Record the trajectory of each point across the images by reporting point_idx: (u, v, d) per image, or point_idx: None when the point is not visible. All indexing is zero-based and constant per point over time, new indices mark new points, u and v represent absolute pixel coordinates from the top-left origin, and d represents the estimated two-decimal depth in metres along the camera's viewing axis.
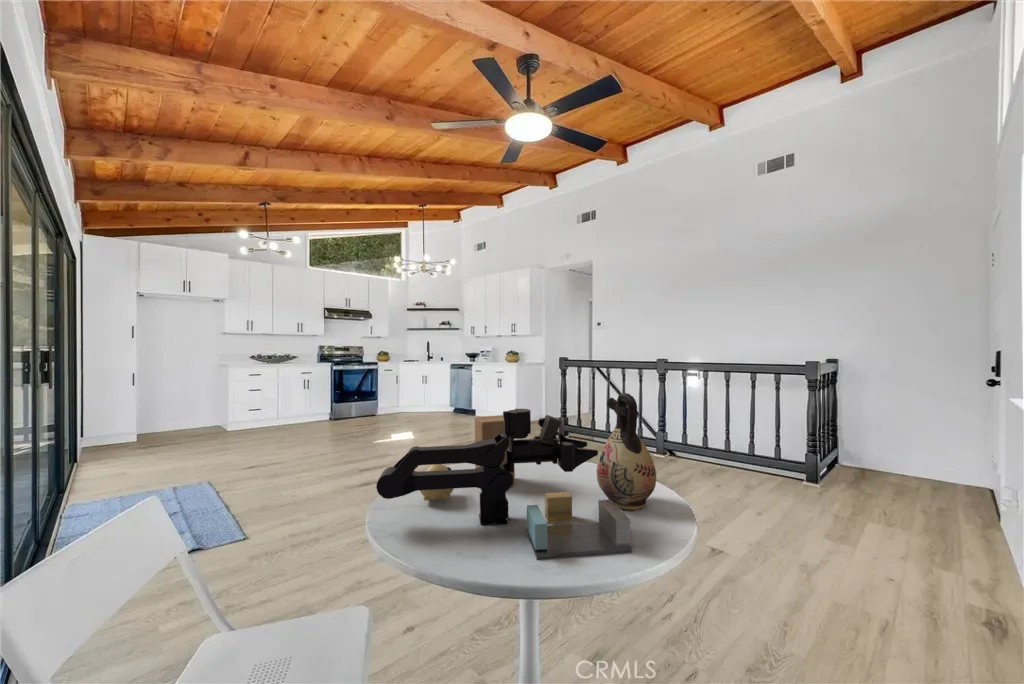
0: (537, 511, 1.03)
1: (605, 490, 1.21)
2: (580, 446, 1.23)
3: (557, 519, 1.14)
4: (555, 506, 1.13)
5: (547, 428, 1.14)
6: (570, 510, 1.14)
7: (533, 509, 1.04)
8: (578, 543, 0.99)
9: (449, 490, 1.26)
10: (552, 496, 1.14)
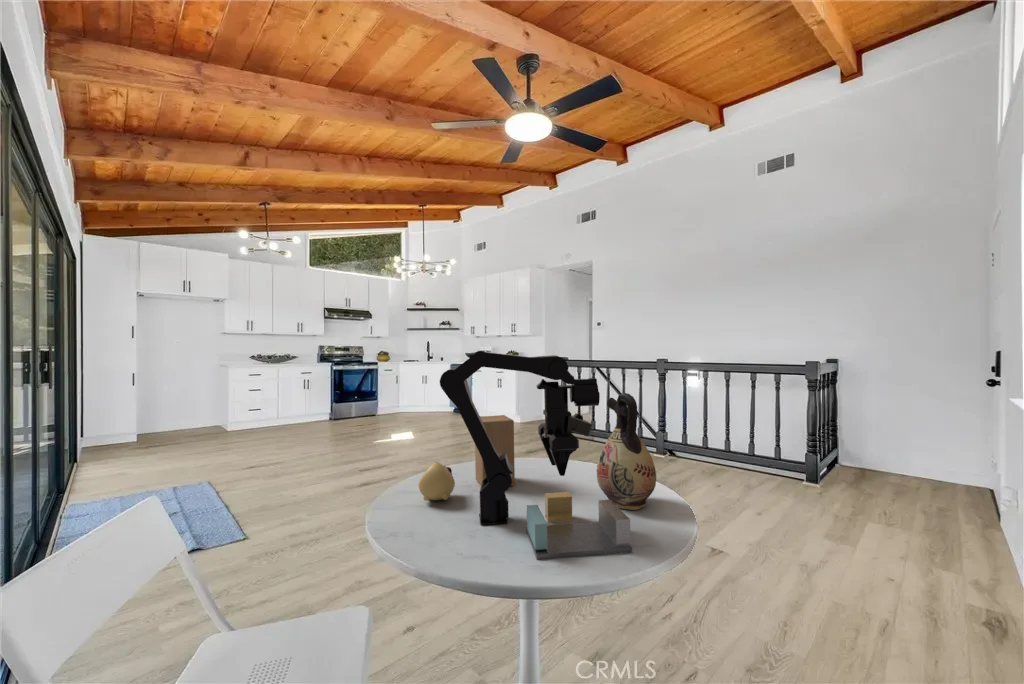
0: (537, 511, 1.03)
1: (605, 490, 1.21)
2: (551, 458, 1.20)
3: (557, 519, 1.14)
4: (555, 506, 1.13)
5: (582, 422, 1.13)
6: (570, 510, 1.14)
7: (533, 509, 1.04)
8: (578, 543, 0.99)
9: (449, 490, 1.26)
10: (552, 496, 1.14)
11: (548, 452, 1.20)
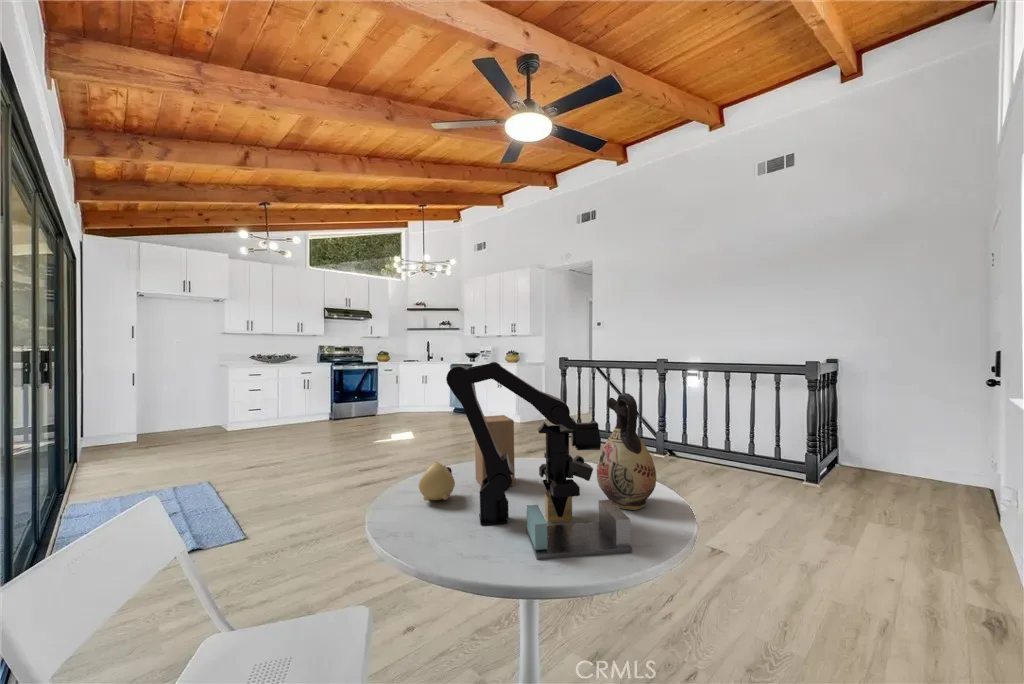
0: (537, 511, 1.03)
1: (605, 490, 1.21)
2: None
3: (557, 519, 1.14)
4: None
5: (583, 467, 1.14)
6: (570, 510, 1.14)
7: (533, 509, 1.04)
8: (578, 543, 0.99)
9: (449, 490, 1.26)
10: None
11: None
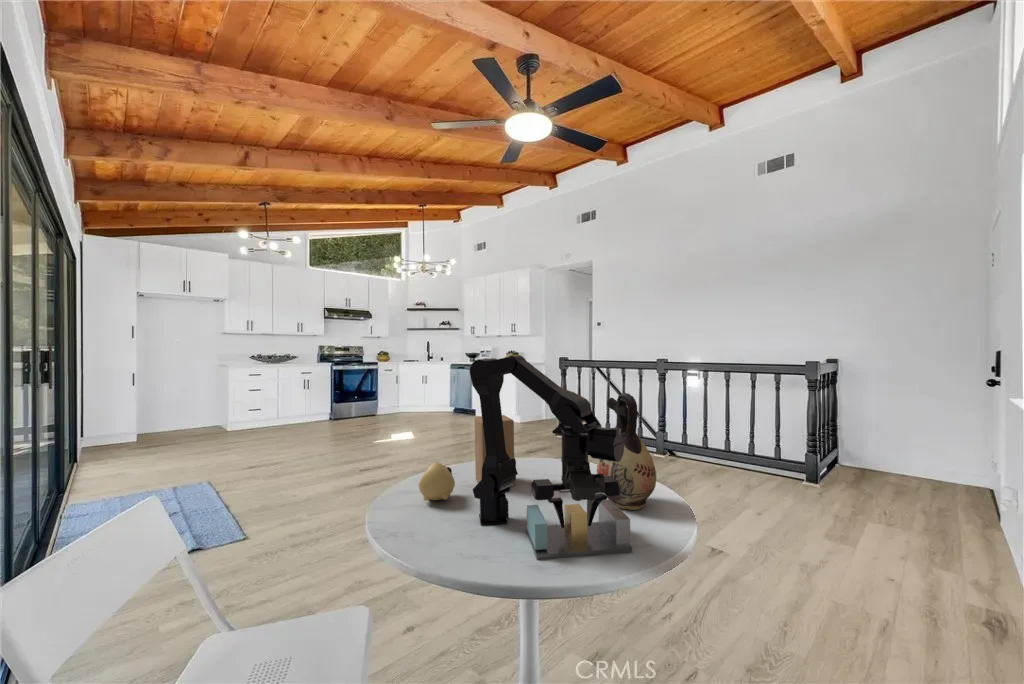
0: (537, 511, 1.03)
1: None
2: (587, 516, 1.03)
3: (567, 533, 1.03)
4: (566, 517, 1.03)
5: (571, 481, 0.96)
6: (570, 530, 1.00)
7: (533, 509, 1.04)
8: (578, 543, 0.99)
9: (449, 490, 1.26)
10: (569, 506, 1.04)
11: (587, 508, 1.04)
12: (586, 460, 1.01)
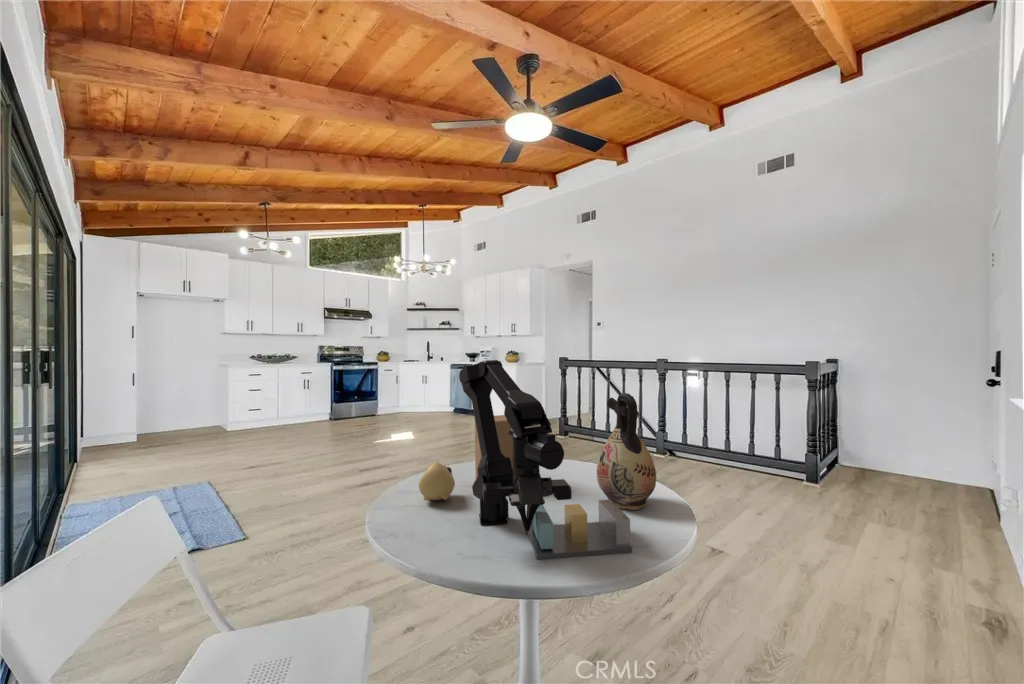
0: (543, 511, 1.03)
1: (605, 490, 1.21)
2: None
3: (567, 533, 1.03)
4: (566, 517, 1.03)
5: (518, 484, 0.95)
6: (570, 530, 1.00)
7: (538, 508, 1.05)
8: (578, 543, 0.99)
9: (449, 490, 1.26)
10: (569, 506, 1.04)
11: None
12: (536, 463, 0.99)
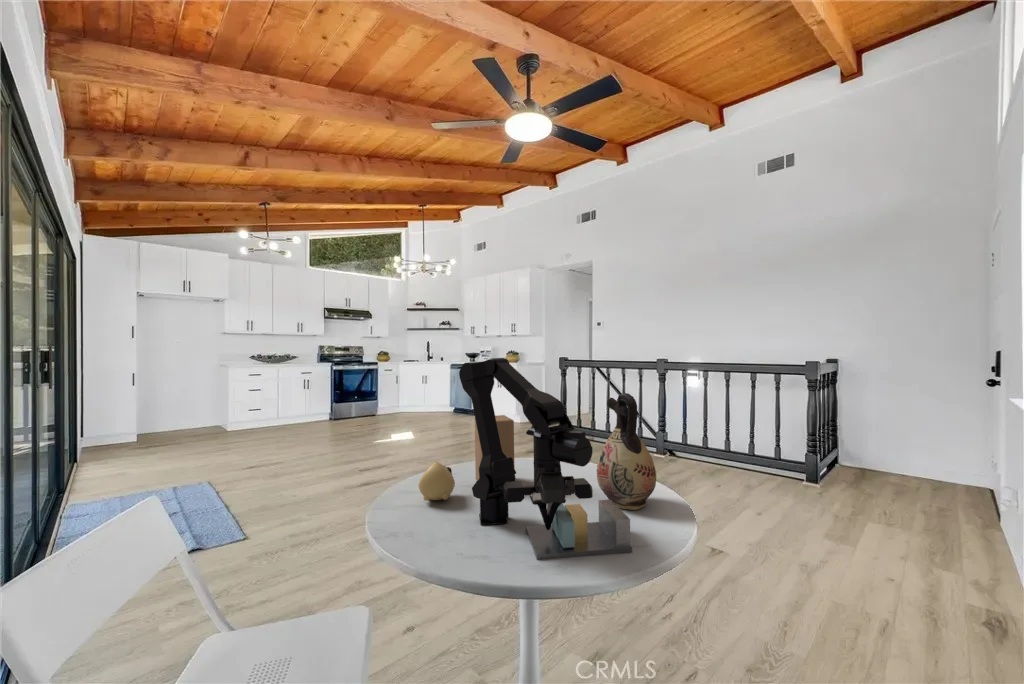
0: (563, 510, 1.03)
1: (605, 490, 1.21)
2: None
3: None
4: None
5: (541, 483, 0.95)
6: None
7: (558, 507, 1.05)
8: (578, 543, 0.99)
9: (449, 490, 1.26)
10: (569, 506, 1.04)
11: (547, 511, 1.03)
12: (557, 462, 1.00)
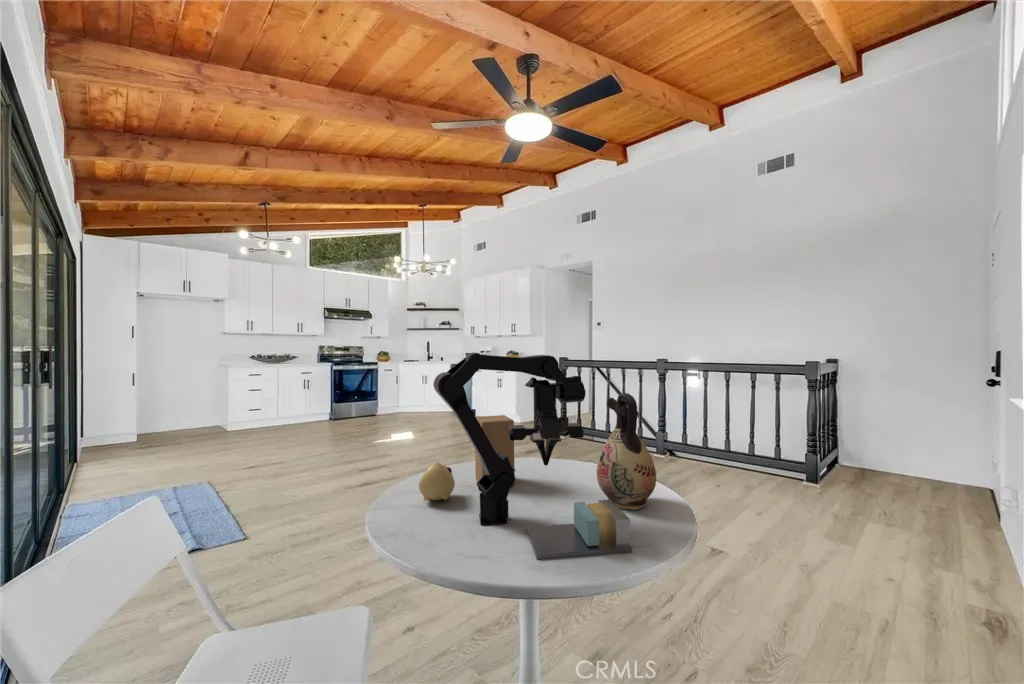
0: (586, 508, 1.04)
1: (605, 490, 1.21)
2: None
3: None
4: None
5: (540, 423, 1.14)
6: None
7: (581, 506, 1.06)
8: (578, 543, 0.99)
9: (449, 490, 1.26)
10: (592, 505, 1.05)
11: (545, 450, 1.21)
12: (554, 407, 1.18)
